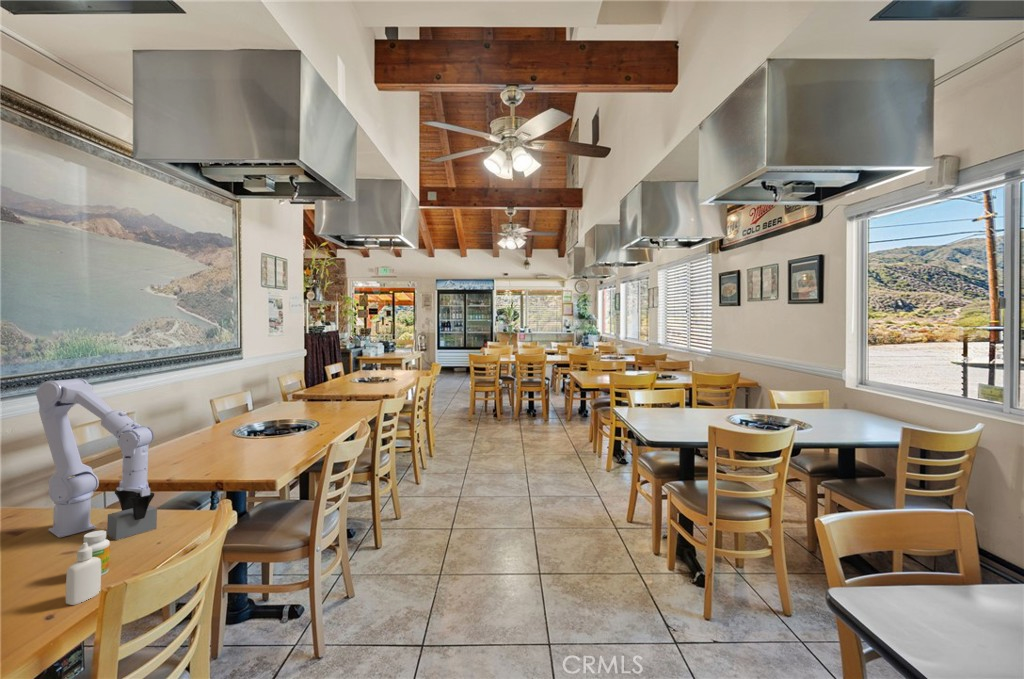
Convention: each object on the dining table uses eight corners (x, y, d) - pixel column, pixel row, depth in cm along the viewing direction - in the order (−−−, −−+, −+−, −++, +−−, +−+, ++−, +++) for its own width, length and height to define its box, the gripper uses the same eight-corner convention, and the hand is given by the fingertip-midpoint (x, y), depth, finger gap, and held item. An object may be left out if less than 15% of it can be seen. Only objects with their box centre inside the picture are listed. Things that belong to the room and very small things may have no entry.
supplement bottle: (90, 581, 105) (91, 539, 105) (72, 578, 106) (73, 537, 106) (115, 570, 110) (116, 530, 110) (97, 567, 111) (98, 527, 111)
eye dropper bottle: (64, 599, 97) (66, 544, 98) (99, 589, 102) (101, 536, 102) (66, 608, 95) (67, 550, 95) (102, 597, 99) (103, 542, 99)
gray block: (107, 535, 129) (107, 514, 129) (147, 524, 137) (147, 504, 137) (116, 540, 126) (116, 518, 126) (156, 528, 134) (157, 508, 134)
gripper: (107, 468, 132) (105, 515, 132) (129, 477, 125) (127, 526, 125) (136, 463, 138) (135, 507, 138) (159, 471, 131) (157, 518, 131)
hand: (133, 516), depth 132 cm, fingers open, 7 cm apart
